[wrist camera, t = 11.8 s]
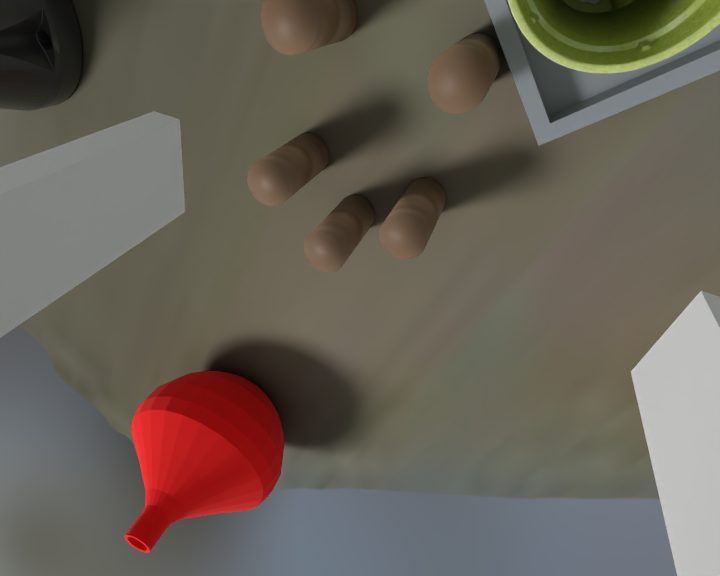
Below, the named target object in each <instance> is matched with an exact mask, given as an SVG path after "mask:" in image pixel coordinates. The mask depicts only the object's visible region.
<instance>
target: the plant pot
mask: <svg viewBox="0 0 720 576" xmlns="http://www.w3.org/2000/svg"><path fill="white" fill-rule="evenodd" d="M508 3H509V6H510V9H511V12H512V14H513V17H514V19H515V21H516V23H517V25H518V27H519V28H520V30H521V31H522V33H523V34H524V36H525V37H526V38H527V39H528V41H529V42H530V43H531V44H532V45H533V46H534V47H535V48H536V49H537V50H538V51H539V52H540V53H542V54H543V55H544V56H546V57H547V58H549V59H551V60H552V61H554V62H556V63H558V64H560V65H562V66H565V67H567V68H571V69H574V70H578V71H582V72H589V73H620V72H627V71H632V70H637V69H640V68H643V67H646V66H649V65H652V64H655V63H657V62H660V61H662V60H665V59H667V58H669V57H671V56H673V55H675V54H677V53H679V52H681V51H683V50H684V49H686V48H688V47H689V46H691V45H692V44H694V43H696V42H697V41H698V40H700V39H701V38H703V37H704V36H706V35H707V34H708V33H710V32H711V31H712V30H713V29H714V28H715V27H717V26H718V25H719V24H720V0H600V1H599V2H598V3H595V4H594V3H591V2H581V1H579V0H508Z"/></svg>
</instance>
